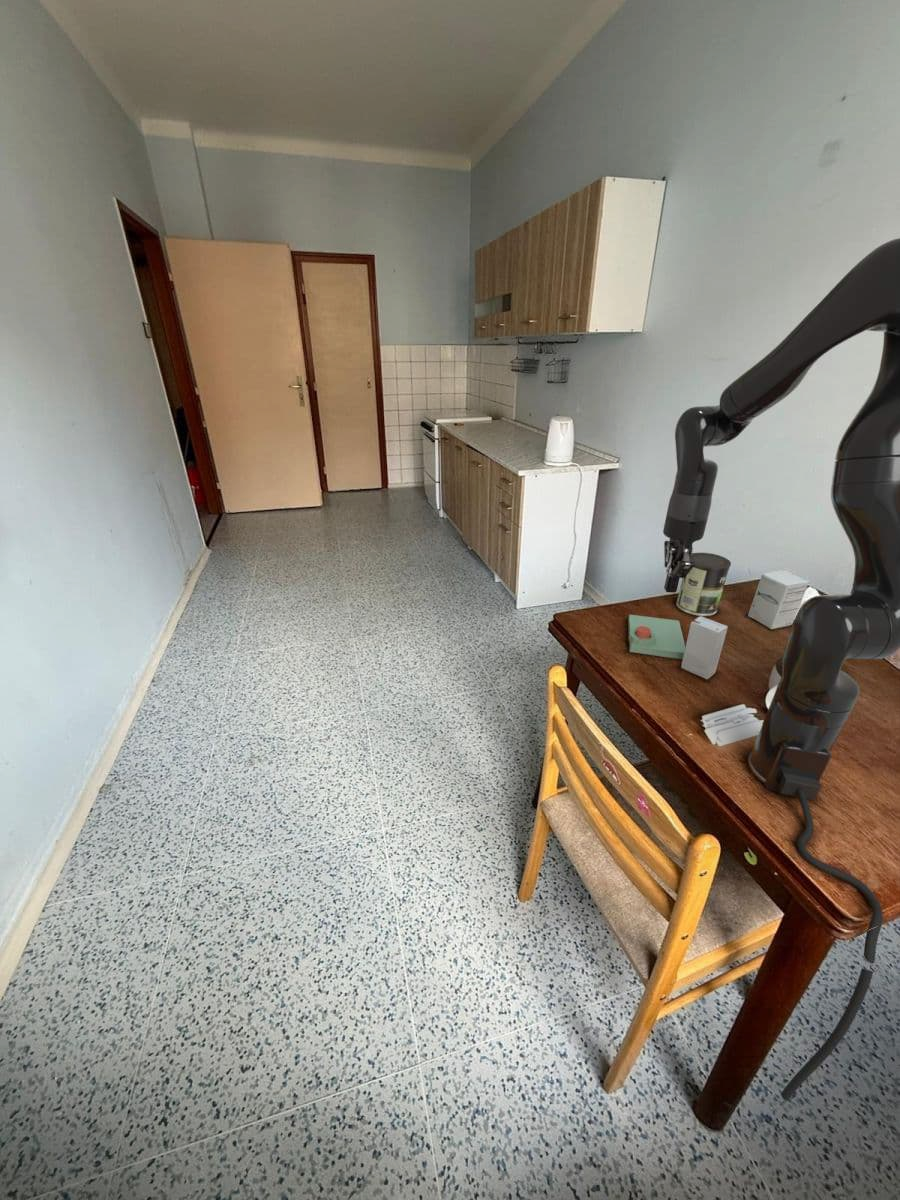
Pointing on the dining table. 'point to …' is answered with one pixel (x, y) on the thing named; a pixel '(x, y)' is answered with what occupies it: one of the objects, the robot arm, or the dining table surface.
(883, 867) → the dining table surface
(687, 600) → the coffee can
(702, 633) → the cosmetic box
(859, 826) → the dining table surface
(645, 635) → the button
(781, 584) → the white packaging box
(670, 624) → the green kitchen scale
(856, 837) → the dining table surface
